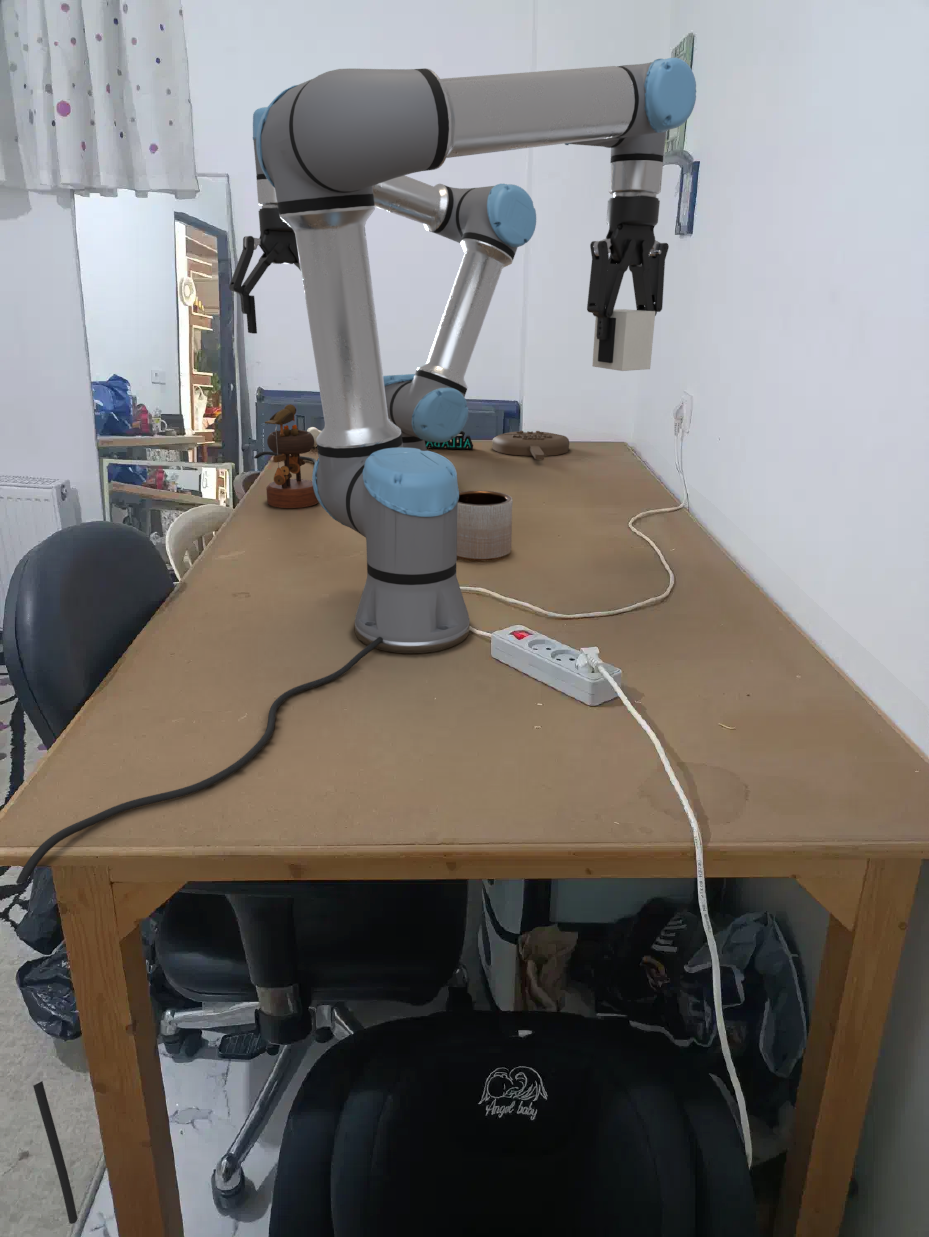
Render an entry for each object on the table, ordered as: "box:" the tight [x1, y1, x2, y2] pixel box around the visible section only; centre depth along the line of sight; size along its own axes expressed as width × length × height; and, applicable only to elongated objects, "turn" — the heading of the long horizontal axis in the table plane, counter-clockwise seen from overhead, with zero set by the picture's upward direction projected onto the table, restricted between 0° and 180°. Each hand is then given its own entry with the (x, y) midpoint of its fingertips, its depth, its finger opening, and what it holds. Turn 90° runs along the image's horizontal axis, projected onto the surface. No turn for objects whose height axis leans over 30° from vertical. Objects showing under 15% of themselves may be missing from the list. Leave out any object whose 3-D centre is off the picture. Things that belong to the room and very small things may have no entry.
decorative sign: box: [425, 430, 474, 450], centre depth 227 cm, size 19×2×15 cm, turn 86°
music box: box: [264, 403, 319, 509], centre depth 172 cm, size 15×11×20 cm
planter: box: [457, 489, 513, 562], centre depth 143 cm, size 11×11×10 cm
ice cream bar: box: [491, 430, 570, 461], centre depth 224 cm, size 21×28×4 cm
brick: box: [592, 308, 656, 372], centre depth 131 cm, size 6×7×8 cm
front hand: (621, 360), depth 132 cm, fingers closed on brick, 6 cm apart
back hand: (287, 332), depth 160 cm, fingers open, 13 cm apart
